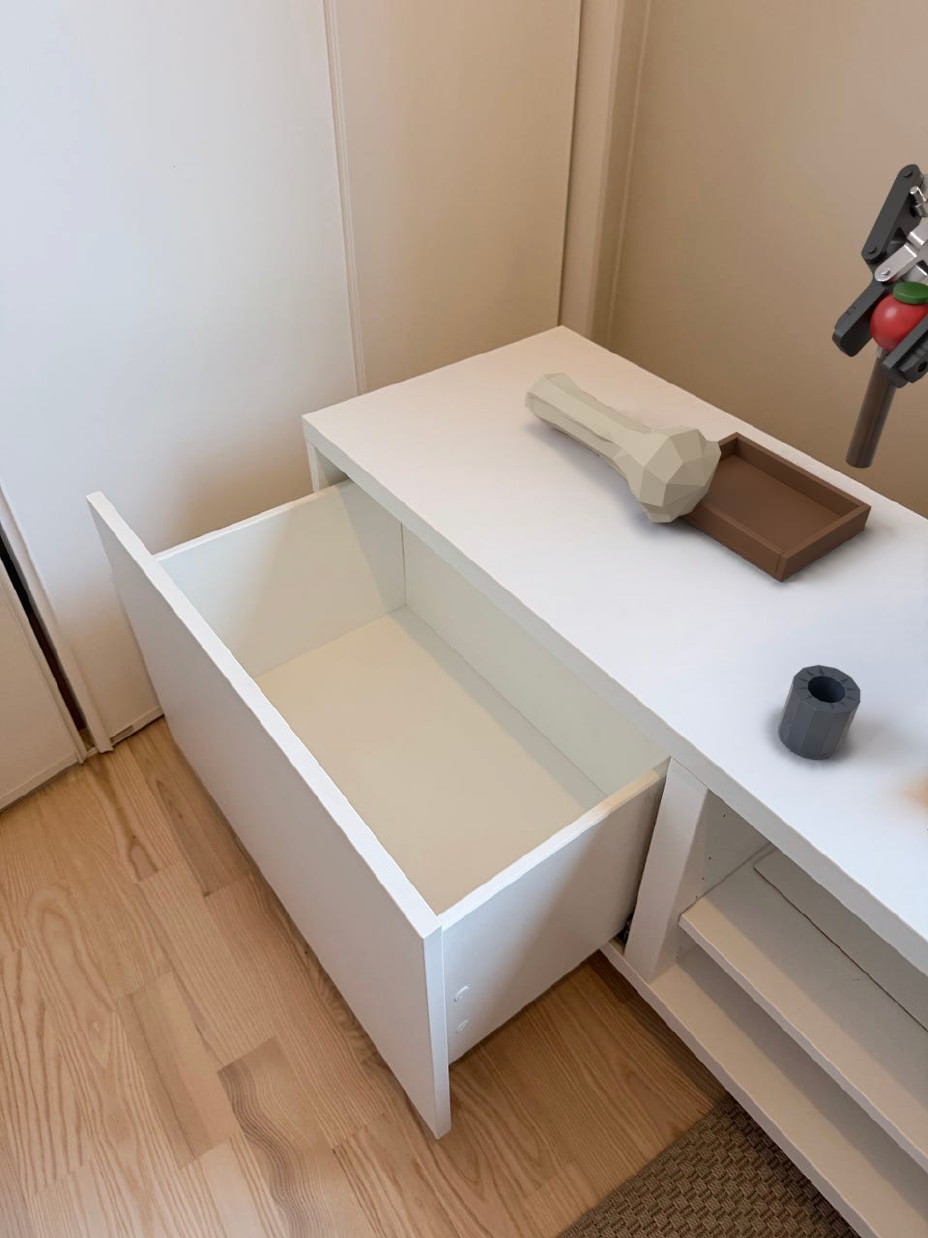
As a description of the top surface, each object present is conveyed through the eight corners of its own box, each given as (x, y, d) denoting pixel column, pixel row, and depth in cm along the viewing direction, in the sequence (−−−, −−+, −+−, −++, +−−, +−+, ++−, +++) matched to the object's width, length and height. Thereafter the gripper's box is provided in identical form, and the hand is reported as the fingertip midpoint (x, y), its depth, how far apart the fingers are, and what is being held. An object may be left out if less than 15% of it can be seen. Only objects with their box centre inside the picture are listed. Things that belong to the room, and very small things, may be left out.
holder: (853, 753, 66) (873, 706, 62) (795, 765, 65) (812, 719, 62) (822, 707, 69) (840, 660, 65) (767, 718, 68) (781, 671, 65)
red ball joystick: (897, 472, 58) (960, 298, 50) (847, 481, 57) (902, 306, 49) (869, 442, 60) (924, 272, 52) (820, 450, 60) (868, 279, 52)
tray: (864, 529, 84) (872, 506, 82) (780, 582, 79) (787, 558, 77) (731, 453, 93) (736, 431, 91) (649, 497, 88) (653, 474, 86)
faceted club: (651, 544, 81) (491, 426, 97) (718, 532, 85) (555, 421, 101) (682, 449, 76) (508, 342, 92) (752, 442, 80) (574, 341, 97)
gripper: (988, 12, 50) (757, 279, 55) (1242, 78, 41) (936, 392, 46) (1023, 105, 55) (809, 342, 60) (1255, 183, 46) (979, 454, 51)
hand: (865, 362), depth 53 cm, fingers closed on red ball joystick, 3 cm apart
